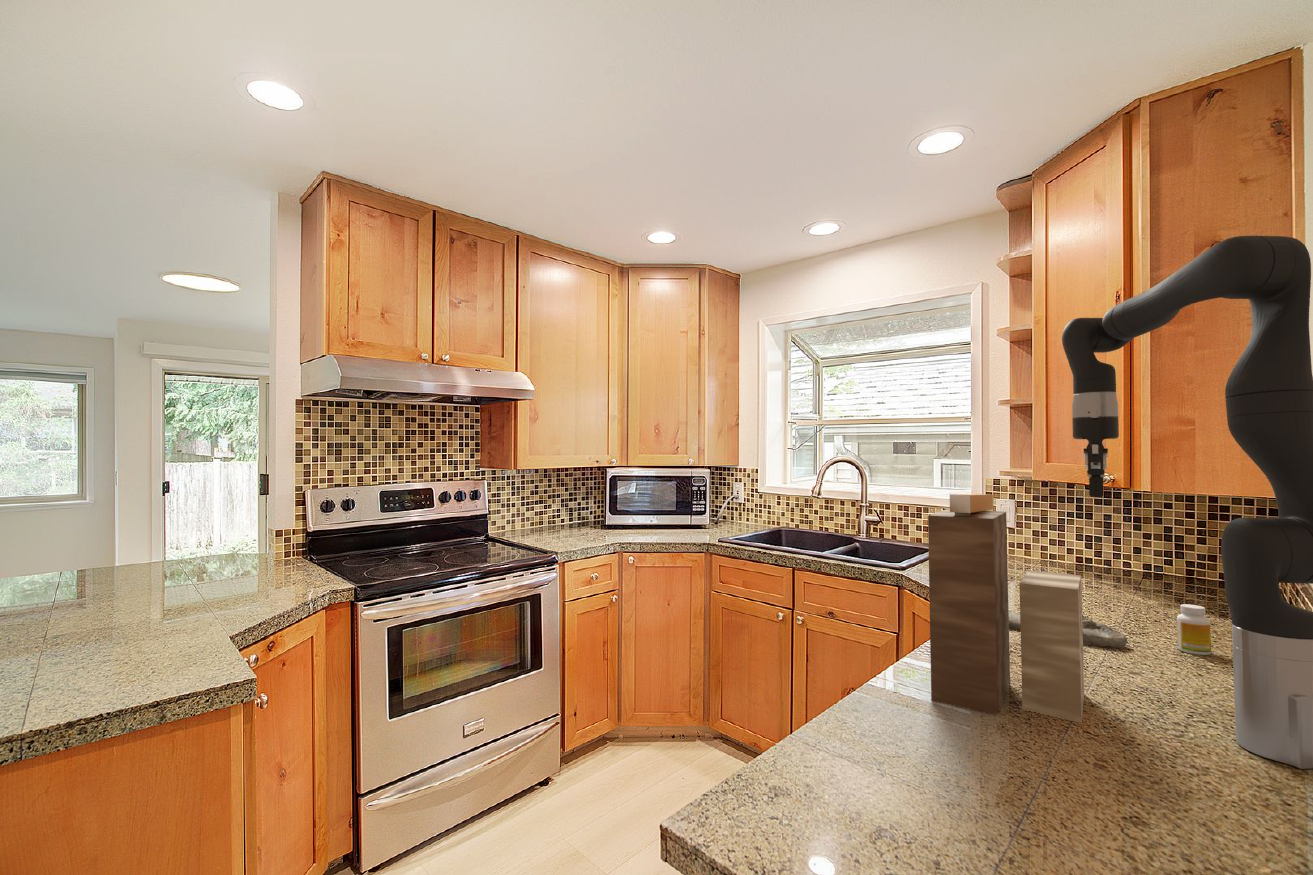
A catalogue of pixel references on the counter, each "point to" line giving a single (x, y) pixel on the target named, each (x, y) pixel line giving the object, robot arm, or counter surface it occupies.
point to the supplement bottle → (1193, 630)
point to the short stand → (1052, 644)
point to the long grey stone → (1086, 632)
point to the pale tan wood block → (970, 502)
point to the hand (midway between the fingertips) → (1096, 495)
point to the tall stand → (969, 609)
